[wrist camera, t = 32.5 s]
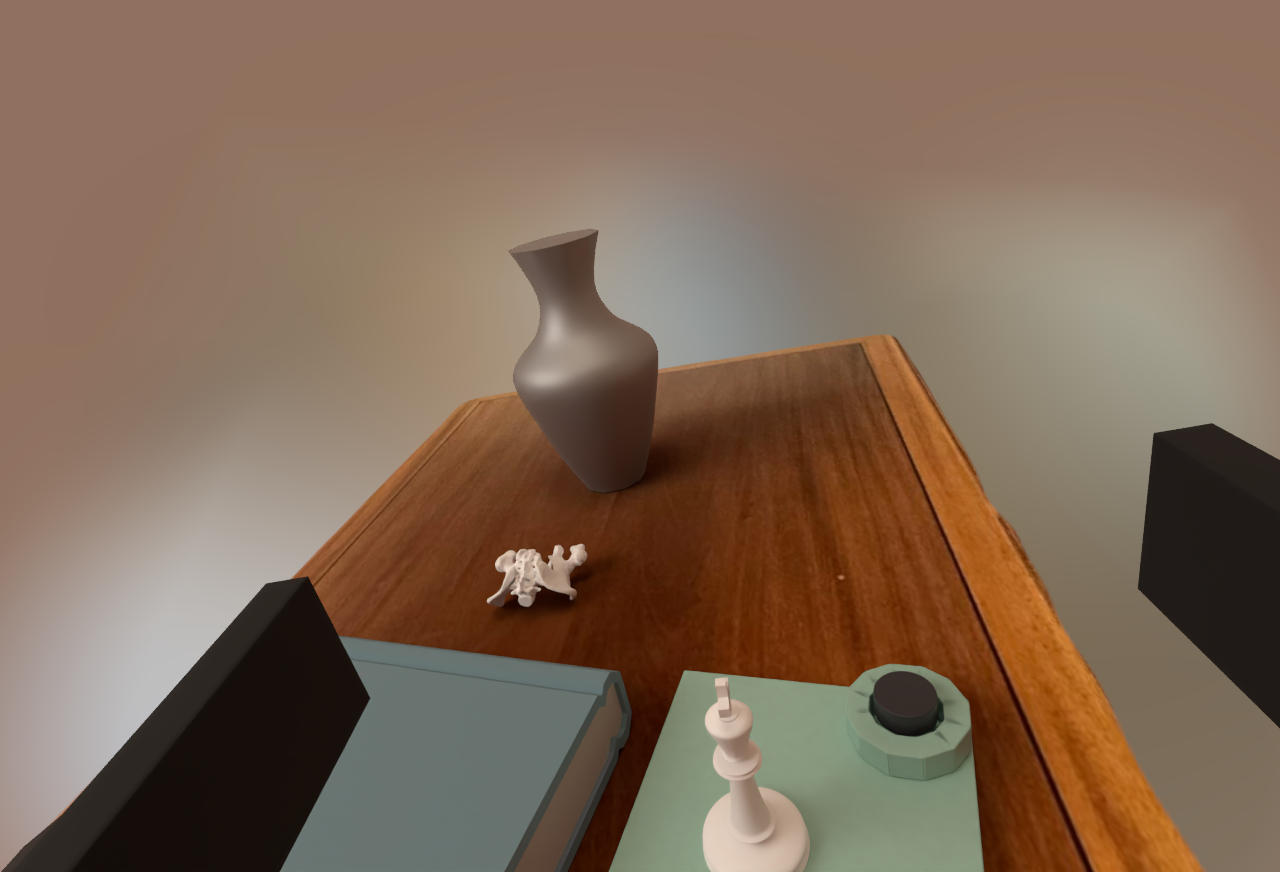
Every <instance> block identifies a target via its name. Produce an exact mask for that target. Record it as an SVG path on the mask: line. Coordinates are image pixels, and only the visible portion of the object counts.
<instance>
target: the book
mask: <svg viewBox="0 0 1280 872" xmlns="http://www.w3.org/2000/svg"><path fill="white" fill-rule="evenodd" d="M339 638H340V640H341V642H342V644H343V646H344V648H345V649H346V651H347V653H348V655H349V657H350V659H351V661H352V663H353V665H354V667H355V669H356V671H357V673H358V675H359V677H360V679H361V681H362V682H363V684H364V686H365V688H366V690H367V692H368V694H369V696H370V700H369V702H368V704H367V706H366V708H365V710H364V712H363V714H362V715H361V717H360V719H359V721H358V723H357V725H356V727H355V729H354V731H353V733H352V735H351V737H350V738H349V740H348V742H347V744H346V746H345V748H344V750H343V752H342V754H341V756H340V758H339V760H338V761H337V763H336V765H335V767H334V769H333V771H332V773H331V775H330V777H329V779H328V781H327V782H326V784H325V786H324V788H323V790H322V792H321V794H320V796H319V798H318V800H317V802H316V804H315V805H314V807H313V809H312V811H311V813H310V815H309V817H308V819H307V821H306V823H305V825H304V827H303V828H302V830H301V832H300V834H299V836H298V838H297V840H296V842H295V844H294V846H293V848H292V849H291V851H290V853H289V855H288V857H287V859H286V861H285V863H284V865H283V867H282V869H281V871H280V872H568V870H569V867H570V865H571V863H572V861H573V858H574V856H575V854H576V852H577V850H578V847H579V845H580V843H581V841H582V839H583V836H584V834H585V832H586V830H587V827H588V825H589V823H590V821H591V819H592V816H593V814H594V812H595V810H596V807H597V805H598V803H599V801H600V799H601V796H602V794H603V792H604V790H605V787H606V785H607V783H608V781H609V779H610V776H611V774H612V772H613V770H614V768H615V765H616V763H617V761H618V755H619V749H620V748H623V747H624V745H625V743H626V741H627V739H628V736H629V732H630V723H631V714H632V711H631V707H630V704H629V701H628V697H627V694H626V690H625V687H624V684H623V680H622V677H621V674H620V671H612V670H605V669H597V668H589V667H581V666H573V665H565V664H558V663H550V662H542V661H534V660H526V659H518V658H510V657H503V656H495V655H487V654H479V653H471V652H463V651H456V650H448V649H440V648H432V647H424V646H416V645H408V644H401V643H393V642H385V641H377V640H369V639H361V638H354V637H346V636H339Z"/></svg>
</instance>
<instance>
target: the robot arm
mask: <svg viewBox="0 0 1280 872" xmlns="http://www.w3.org/2000/svg"><path fill="white" fill-rule="evenodd" d="M1138 589H1139V590H1140V591H1141V592H1142V593H1143V594H1144V595H1145V596H1146V597H1147V598H1148V599H1149V600H1150V601H1151V602H1152V603H1153V604H1154V605H1155V606H1156V607H1157V608H1158V609H1159V610H1160V611H1161V612H1162V613H1163V614H1164V615H1165V616H1166V617H1167V618H1168V619H1169V620H1170V621H1171V622H1172V623H1173V624H1174V625H1175V626H1176V627H1177V628H1178V629H1180V631H1182V633H1184V634H1185V635H1186V636H1187V637H1188V638H1189V639H1190V640H1191V641H1192V642H1193V643H1194V644H1195V645H1196V646H1197V647H1198V648H1199V649H1200V650H1201V651H1202V652H1203V653H1204V654H1205V655H1206V656H1207V657H1208V658H1209V659H1210V660H1211V661H1212V662H1213V663H1214V664H1215V665H1216V666H1217V667H1218V668H1219V669H1220V670H1221V671H1222V672H1223V673H1224V674H1225V675H1227V677H1228V678H1229V679H1230V680H1232V682H1233V683H1234V684H1235V685H1236V686H1237V687H1239V689H1240V690H1242V691H1243V693H1245V694H1246V695H1247V696H1248V697H1249V698H1250V699H1251V700H1252V701H1253V702H1254V703H1255V704H1256V705H1257V706H1258V707H1259V708H1260V709H1261V710H1262V711H1263V712H1264V713H1265V714H1266V715H1267V716H1268V717H1269V718H1270V719H1271V720H1272V721H1273V722H1274V723H1275V724H1276V725H1277V726H1278V727H1279V728H1280V460H1279V459H1277V458H1275V457H1273V456H1271V455H1269V454H1267V453H1266V452H1264V451H1262V450H1260V449H1258V448H1256V447H1255V446H1253V445H1251V444H1249V443H1247V442H1245V441H1244V440H1242V439H1240V438H1238V437H1236V436H1234V435H1233V434H1231V433H1229V432H1227V431H1225V430H1223V429H1221V428H1220V427H1218V426H1216V425H1214V424H1212V423H1211V424H1205V425H1200V426H1194V427H1188V428H1182V429H1176V430H1170V431H1164V432H1158V433H1154V435H1153V445H1152V455H1151V465H1150V475H1149V485H1148V494H1147V504H1146V514H1145V524H1144V534H1143V543H1142V553H1141V563H1140V573H1139V583H1138ZM369 700H370V696H369V694H368V692H367V690H366V688H365V686H364V684H363V682H362V681H361V679H360V677H359V675H358V673H357V671H356V669H355V667H354V665H353V663H352V661H351V659H350V657H349V655H348V653H347V651H346V649H345V648H344V646H343V644H342V642H341V640H340V638H339V636H338V634H337V632H336V630H335V628H334V626H333V624H332V622H331V620H330V618H329V616H328V615H327V613H326V611H325V609H324V607H323V605H322V603H321V601H320V599H319V597H318V595H317V593H316V591H315V589H314V587H313V585H312V584H311V582H310V580H309V578H308V577H302V578H296V579H290V580H285V581H279V582H273V583H268V584H265V586H264V587H263V588H262V589H261V590H260V591H259V592H258V593H257V595H256V596H255V597H254V598H253V599H252V600H251V601H250V603H249V604H248V605H247V606H246V607H245V608H244V609H243V611H242V612H241V613H240V614H239V615H238V616H237V617H236V618H235V620H234V621H233V622H232V623H231V624H230V625H229V626H228V628H227V629H226V630H225V631H224V632H223V633H222V634H221V635H220V637H219V638H218V639H217V640H216V641H215V642H214V644H212V646H211V647H210V648H209V649H208V650H207V651H206V653H205V654H204V655H203V656H202V657H201V658H200V659H199V660H198V661H197V663H196V664H195V665H194V666H193V667H192V668H191V670H190V671H189V672H188V673H187V674H186V675H185V676H184V678H182V680H181V681H180V682H179V683H178V684H177V685H176V686H175V688H174V689H173V690H172V691H171V692H170V693H169V695H168V696H167V697H166V698H165V699H164V700H163V701H162V702H161V703H160V705H159V706H158V707H157V708H156V709H155V710H154V711H153V713H152V714H151V715H150V716H149V717H148V718H147V719H146V720H145V722H144V723H143V724H142V725H141V726H140V727H139V728H138V730H137V731H136V732H135V733H134V734H133V735H132V736H131V738H130V739H129V740H128V741H127V742H126V743H125V744H124V746H123V747H122V748H121V749H120V750H119V751H118V752H117V753H116V754H115V756H114V757H113V758H112V759H111V760H110V761H109V762H108V764H107V765H106V766H105V767H104V768H103V769H102V770H101V771H100V773H99V774H98V775H97V776H96V777H95V778H94V779H93V781H92V782H91V783H90V784H89V785H88V786H87V787H86V788H85V790H84V791H83V792H82V793H81V794H80V795H79V796H78V798H77V799H76V800H75V801H74V802H73V803H72V804H71V805H70V807H69V808H68V809H67V810H66V811H65V812H64V813H63V815H61V816H60V817H59V818H58V819H57V820H55V821H54V822H53V823H52V824H51V825H49V826H48V827H47V828H46V829H45V830H43V831H42V832H41V833H40V834H39V835H37V836H36V837H35V838H34V839H33V840H31V841H30V842H29V843H28V844H27V845H25V846H24V847H23V848H22V849H21V850H20V851H19V853H18V854H17V855H16V856H15V857H14V858H13V859H12V861H11V862H10V863H9V864H8V865H7V866H6V867H5V868H4V869H3V870H2V872H280V871H281V869H282V867H283V865H284V863H285V861H286V859H287V857H288V855H289V853H290V851H291V849H292V848H293V846H294V844H295V842H296V840H297V838H298V836H299V834H300V832H301V830H302V828H303V827H304V825H305V823H306V821H307V819H308V817H309V815H310V813H311V811H312V809H313V807H314V805H315V804H316V802H317V800H318V798H319V796H320V794H321V792H322V790H323V788H324V786H325V784H326V782H327V781H328V779H329V777H330V775H331V773H332V771H333V769H334V767H335V765H336V763H337V761H338V760H339V758H340V756H341V754H342V752H343V750H344V748H345V746H346V744H347V742H348V740H349V738H350V737H351V735H352V733H353V731H354V729H355V727H356V725H357V723H358V721H359V719H360V717H361V715H362V714H363V712H364V710H365V708H366V706H367V704H368V702H369Z"/></svg>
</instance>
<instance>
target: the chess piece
mask: <svg viewBox="0 0 1280 872" xmlns="http://www.w3.org/2000/svg"><path fill="white" fill-rule="evenodd" d="M715 688H716V693H717V697H718V702H717V703H715V704H714V705H712V706H711V707H710V708H709V710H708V711H707V713H706V716H705V726H706V728H707V730H708V732H709V734H710V735H711V736H712V738H713V739H714V740H715V741H716V742H717V743H718V745H717V747H716V749H715V751H714V755H713V765H714V768H715V770H716V772H717V773H718V774H719V775H720V776H721V777H723V778H725V779H727V780H729V781H730V792H729V793H728V794H726V795H724V796H723V797H722V798H720V799H719V800H718V801H717V802H716V803H715V804H714V805H713V807H712V808H711V810H710V811H709V813H708V815H707V817H706V820H705V823H704V827H703V835H702V838H703V852H704V857H705V860H706V863H707V866H708V868H709V870H710V871H711V872H803V871H804V869H805V867H806V864H807V861H808V858H809V853H810V839H809V834H808V830H807V827H806V825H805V823H804V820H803V818H802V815H801V813H800V812H799V810H798V809H797V807H796V806H795V805H794V804H793V803H792V802H791V801H790V800H789V799H788V798H787V797H785V796H784V795H782V794H781V793H779V792H777V791H774V790H772V789H769V788H764V787H758V786H757V783H756V781H755V778H754V775H755V774H756V773H757V772H758V771H759V769H760V767H761V765H762V753H761V750H760V749H759V747H758V746H757V744H756V743H755V742H754V741H753V740H751V739H749V735H750V732H751V730H752V725H753V715H752V712H751V710H750V708H749V707H748V706H747V705H746V704H745V703H743V702H741V701H739V700H735V699H730V694H729V683H728V678H727V677H724V678H715Z"/></svg>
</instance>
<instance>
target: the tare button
mask: <svg viewBox="0 0 1280 872" xmlns="http://www.w3.org/2000/svg"><path fill="white" fill-rule="evenodd" d="M873 692H874V703H875V712H876V716H877V718H878V720H879V721H880V723H881V724H882V725H883V726H884V727H886V728H887V729H888V730H890V731H892V732H894V733H896V734H899V735H904V736H919V735H923V734H925V733H927V732H929V731H930V730H932V729H933V728H934V727H935V725H936V723H937V721H938V698H937V692H936V690H935V688H934V686H933V685H932V684H931V683H930V682H929V681H928V680H927V679H926V678H924V677H923V676H921V675H918V674H916V673H913V672H908V671H895V672H890V673H887V674H885V675H883V676H882V677H880V678H879V679H878V680H877V682H876V684H875V686H874V690H873Z"/></svg>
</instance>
